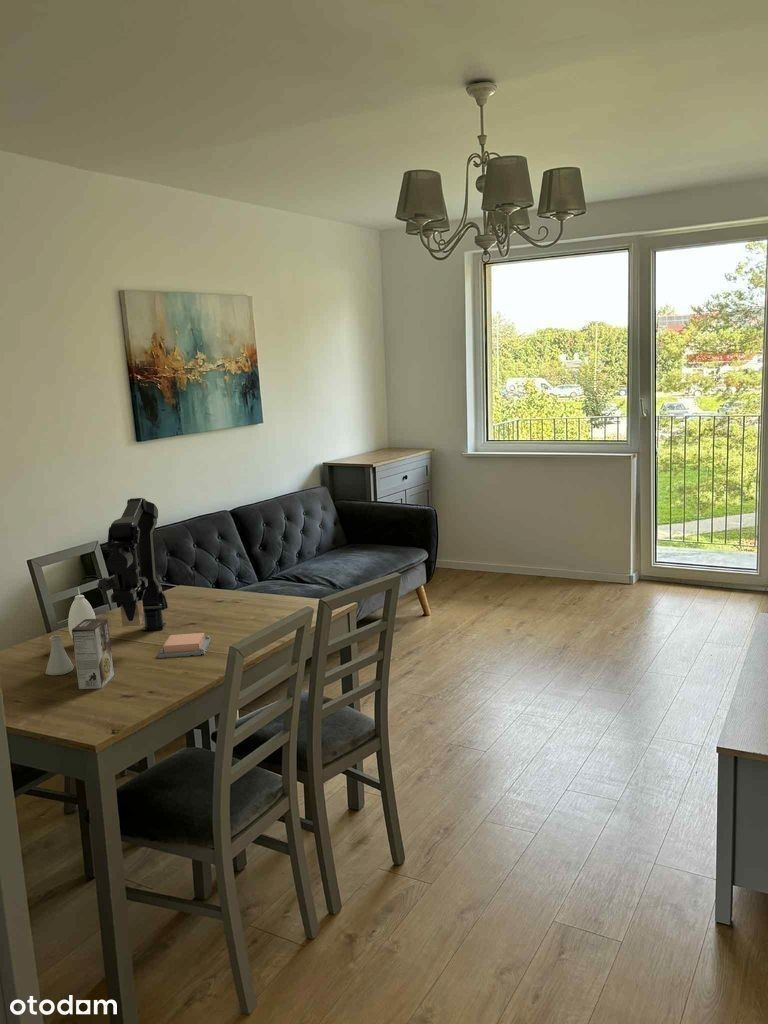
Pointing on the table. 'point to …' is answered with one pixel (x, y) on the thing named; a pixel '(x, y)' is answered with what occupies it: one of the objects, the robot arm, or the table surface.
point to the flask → (58, 658)
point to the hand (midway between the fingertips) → (133, 618)
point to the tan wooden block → (137, 618)
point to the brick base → (186, 653)
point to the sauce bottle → (79, 612)
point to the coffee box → (93, 653)
